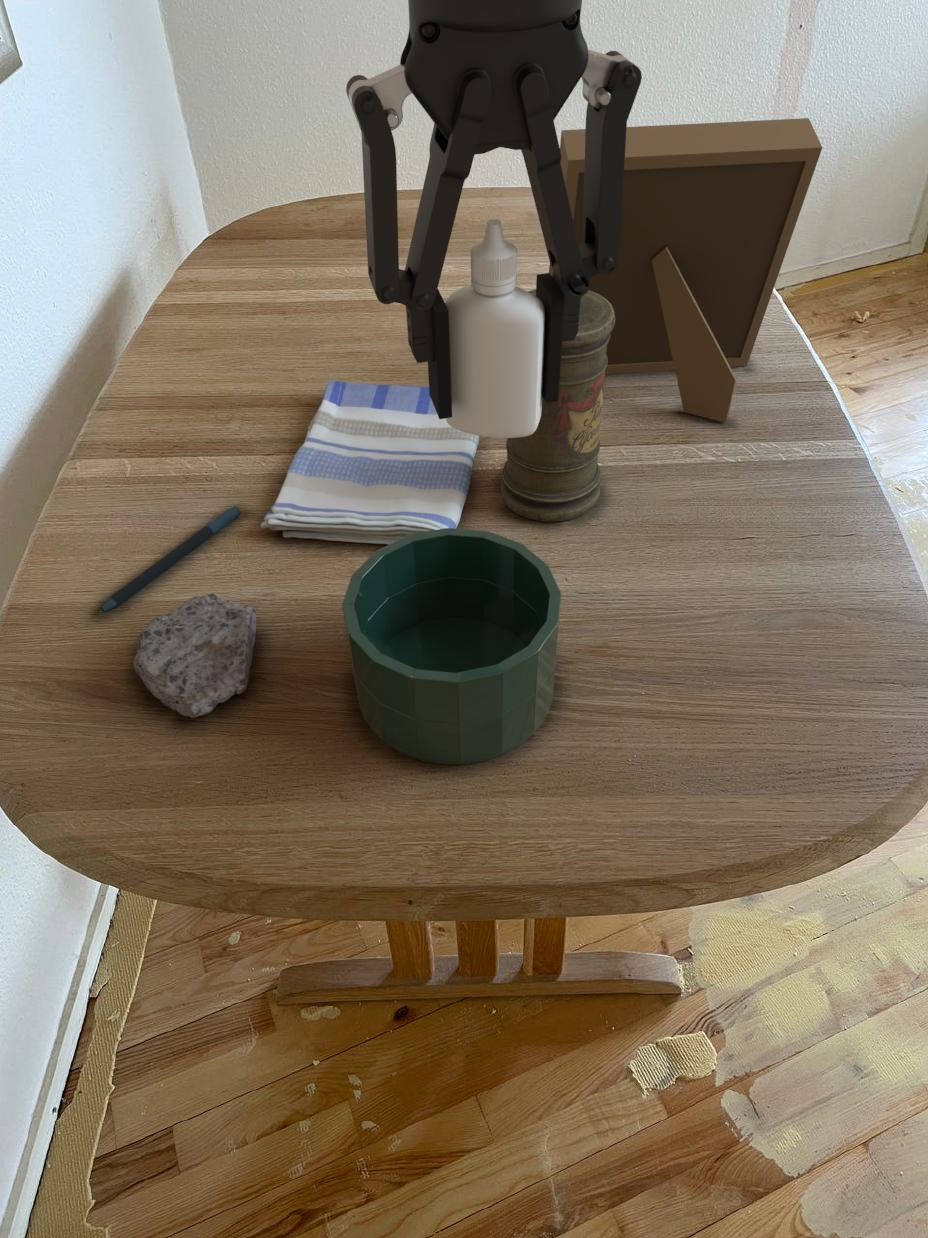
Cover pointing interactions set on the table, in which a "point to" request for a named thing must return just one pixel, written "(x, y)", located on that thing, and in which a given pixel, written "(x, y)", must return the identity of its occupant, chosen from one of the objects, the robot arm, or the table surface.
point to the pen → (170, 559)
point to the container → (565, 429)
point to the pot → (453, 644)
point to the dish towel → (375, 468)
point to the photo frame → (697, 245)
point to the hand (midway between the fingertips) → (493, 396)
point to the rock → (197, 654)
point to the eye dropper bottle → (495, 345)
